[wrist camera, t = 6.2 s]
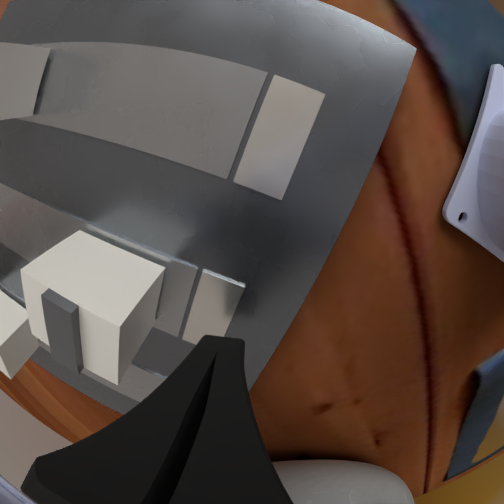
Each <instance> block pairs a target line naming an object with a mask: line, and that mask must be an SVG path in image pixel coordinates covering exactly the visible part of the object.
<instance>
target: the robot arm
mask: <svg viewBox="0 0 504 504" xmlns="http://www.w3.org/2000/svg"><path fill="white" fill-rule="evenodd" d="M462 212H463V216H462V219H461V220H460V221H458V218H459V215H460V214H461V213H462ZM442 215H443V218H444V219H445V220H446V221H447V222H448V223H450V224H451V225H453V226H454V227H456V228H457V229H459V230H460V231H462V232H463V233H465V234H466V235H468V236H469V237H471V238H472V239H473V240H475V241H476V242H478V243H479V244H480V245H482V246H483V247H484V248H486V249H487V250H488V251H490V252H491V253H492V254H494V255H495V256H496V257H498V258H499V259H500V260H501V261H503V262H504V67H503V66H501V65H500V64H494V65H491V67H490V71H489V76H488V81H487V85H486V89H485V93H484V97H483V101H482V104H481V108H480V111H479V115H478V118H477V121H476V125H475V128H474V131H473V134H472V137H471V140H470V143H469V145H468V148H467V151H466V154H465V156H464V159H463V161H462V164H461V167H460V169H459V171H458V174H457V176H456V179H455V181H454V183H453V186H452V188H451V190H450V192H449V195H448V197H447V199H446V201H445V203H444V206H443V209H442ZM244 358H245V341H244V340H243V339H239V338H230V337H222V336H214V335H207V334H206V335H204V336H203V337H202V338H201V339H200V341H199V342H198V343H197V344H196V346H195V347H194V348H193V349H192V351H191V352H190V353H189V354H188V355H187V357H186V358H185V359H184V360H183V361H182V362H181V363H180V365H179V366H178V367H177V368H176V369H175V370H174V371H173V372H172V373H171V374H170V375H169V376H168V377H167V378H166V379H165V380H164V381H163V382H162V383H161V384H160V385H159V386H158V387H157V388H156V389H155V390H154V391H153V392H152V393H151V394H149V395H148V396H147V397H146V398H145V399H144V400H142V401H141V402H140V403H139V404H138V405H136V406H135V407H134V408H132V409H131V410H130V411H128V412H127V413H126V414H124V415H123V416H121V417H120V418H118V419H117V420H116V421H114V422H113V423H111V424H110V425H108V426H106V427H105V428H103V429H101V430H100V431H98V432H96V433H94V434H92V435H90V436H88V437H86V438H84V439H82V440H80V441H78V442H76V443H74V444H72V445H70V446H68V447H65V448H63V449H60V450H57V451H54V452H51V453H49V454H46V455H43V456H39V457H37V458H36V460H35V462H34V463H33V464H32V466H31V468H30V470H29V472H28V474H27V476H26V478H25V480H24V482H23V484H22V486H21V490H22V492H23V493H22V492H21V491H19V490H18V489H17V488H16V487H15V486H13V485H12V484H11V483H10V482H8V481H7V480H6V479H5V478H4V477H2V476H1V475H0V504H294V503H293V501H292V500H291V498H290V496H289V495H288V493H287V491H286V489H285V488H284V486H283V484H282V482H281V480H280V478H279V476H278V474H277V472H276V470H275V468H274V466H273V464H272V462H271V460H270V457H269V455H268V453H267V450H266V448H265V445H264V443H263V440H262V437H261V435H260V432H259V429H258V426H257V423H256V420H255V417H254V413H253V409H252V406H251V402H250V398H249V393H248V388H247V382H246V377H245V369H244ZM26 495H27V496H26Z"/></svg>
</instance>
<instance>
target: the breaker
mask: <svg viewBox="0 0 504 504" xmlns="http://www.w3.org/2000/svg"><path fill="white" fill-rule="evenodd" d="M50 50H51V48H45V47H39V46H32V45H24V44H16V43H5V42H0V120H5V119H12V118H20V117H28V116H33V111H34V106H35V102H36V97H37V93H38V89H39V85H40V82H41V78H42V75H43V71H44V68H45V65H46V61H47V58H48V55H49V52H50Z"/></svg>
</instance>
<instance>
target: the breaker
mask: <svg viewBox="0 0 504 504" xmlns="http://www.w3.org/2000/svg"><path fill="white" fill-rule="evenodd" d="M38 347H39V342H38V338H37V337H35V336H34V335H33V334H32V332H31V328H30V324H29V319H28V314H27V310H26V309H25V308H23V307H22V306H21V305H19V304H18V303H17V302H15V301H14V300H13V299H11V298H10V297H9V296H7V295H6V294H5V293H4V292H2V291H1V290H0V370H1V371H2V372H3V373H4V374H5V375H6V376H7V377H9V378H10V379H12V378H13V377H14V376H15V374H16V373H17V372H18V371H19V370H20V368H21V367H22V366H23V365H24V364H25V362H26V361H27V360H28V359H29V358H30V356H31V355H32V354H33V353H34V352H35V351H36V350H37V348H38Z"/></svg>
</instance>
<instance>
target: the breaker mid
mask: <svg viewBox="0 0 504 504" xmlns="http://www.w3.org/2000/svg"><path fill="white" fill-rule="evenodd" d="M165 268H166V267H163V266H161V265H158V264H156V263H153V262H151V261H149V260H146V259H144V258H142V257H139V256H137V255H135V254H132V253H130V252H128V251H125V250H123V249H121V248H118V247H116V246H114V245H112V244H109V243H107V242H105V241H103V240H100V239H98V238H96V237H94V236H92V235H89V234H87V233H85V232H83V231H81V230H79V231H77V232H76V233H74V234H72V235H71V236H69V237H68V238H66V239H64V240H63V241H61V242H60V243H58V244H57V245H55V246H54V247H52V248H51V249H49V250H48V251H46V252H45V253H43V254H42V255H40V256H39V257H37V258H36V259H35V260H33V261H32V262H30V263H29V264H27V265H26V266H25V267H23V268H22V269H21V270H20V271H21V279H22V286H23V292H24V298H25V304H26V309H27V314H28V319H29V324H30V328H31V332H32V334H33V335H34V336H35V337H37V338H38V339H40V340H41V341H43V342H44V343H46V344H47V345H49V346H50V350H51V354H52V359H54V360H55V361H57V362H58V363H60V364H62V365H63V366H65V367H66V368H68V369H70V370H71V371H73V372H75V373H76V374H78V375H79V374H80V372H81V371H82V370H83V368H86V369H88V370H89V371H91V372H93V373H95V374H97V375H99V376H100V377H102V378H104V379H106V380H108V381H110V382H112V383H114V384H116V385H119V383H120V381H121V379H122V378H123V376H124V374H125V372H126V371H127V369H128V367H129V366H130V364H131V362H132V360H133V359H134V357H135V355H136V354H137V352H138V350H139V349H140V347H141V345H142V343H143V342H144V340H145V338H146V337H147V335H148V333H149V332H150V330H151V329H152V327H153V325H154V320H155V315H156V309H157V304H158V300H159V295H160V290H161V285H162V281H163V276H164V272H165Z"/></svg>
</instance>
